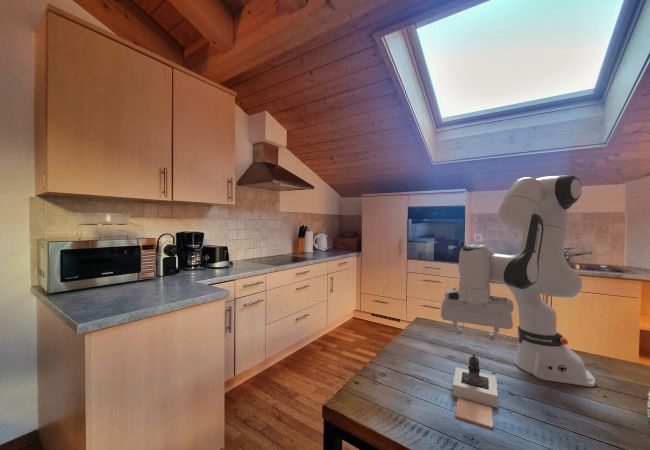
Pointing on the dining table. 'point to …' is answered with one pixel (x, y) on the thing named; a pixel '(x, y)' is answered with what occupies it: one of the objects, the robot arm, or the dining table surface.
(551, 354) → the robot arm
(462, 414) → the terracotta tile
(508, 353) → the dining table surface
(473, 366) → the dark turned stone ornament
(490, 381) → the socket block
